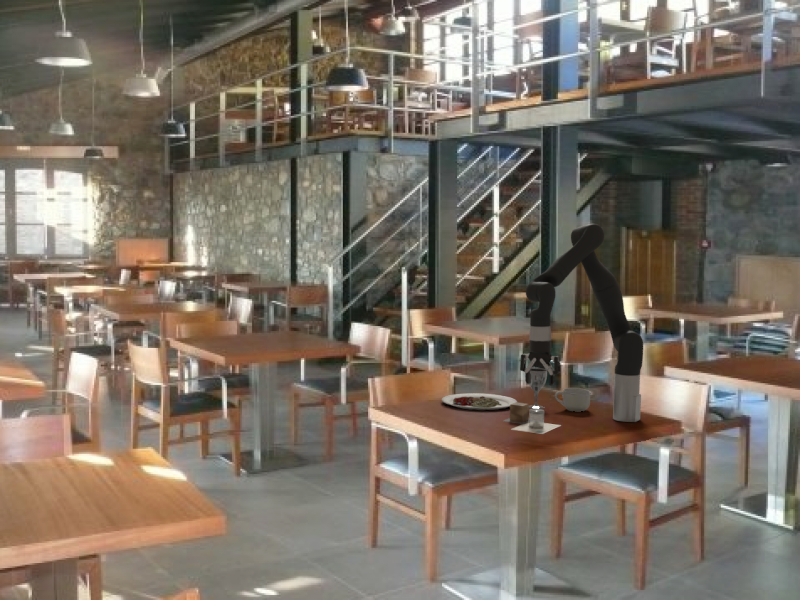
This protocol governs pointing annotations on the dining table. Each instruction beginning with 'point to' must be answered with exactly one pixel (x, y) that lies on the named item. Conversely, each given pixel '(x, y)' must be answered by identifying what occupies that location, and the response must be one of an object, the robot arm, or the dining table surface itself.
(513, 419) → the walnut block
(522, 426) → the envelope
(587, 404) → the teacup
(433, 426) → the dining table surface
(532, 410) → the tin
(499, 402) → the plated food
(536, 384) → the wine glass
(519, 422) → the coaster
